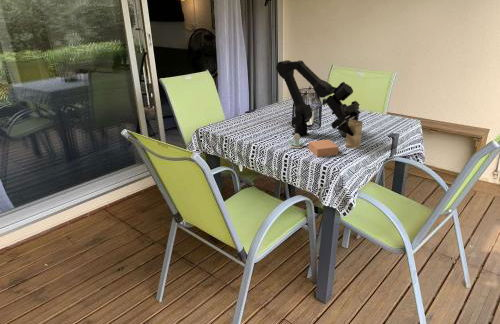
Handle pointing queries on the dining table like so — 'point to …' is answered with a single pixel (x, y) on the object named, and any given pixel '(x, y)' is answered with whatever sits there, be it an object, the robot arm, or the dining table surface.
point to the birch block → (356, 138)
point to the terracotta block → (323, 148)
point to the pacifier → (296, 142)
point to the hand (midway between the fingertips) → (356, 133)
